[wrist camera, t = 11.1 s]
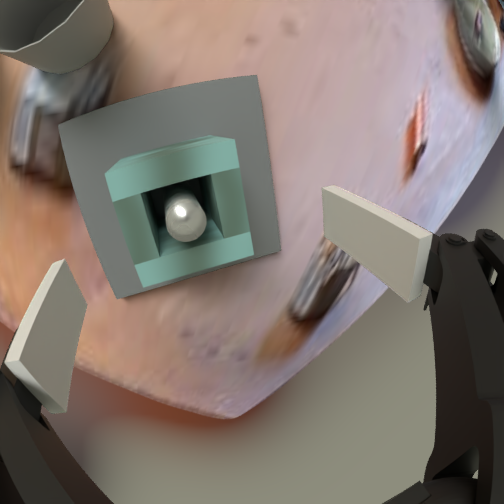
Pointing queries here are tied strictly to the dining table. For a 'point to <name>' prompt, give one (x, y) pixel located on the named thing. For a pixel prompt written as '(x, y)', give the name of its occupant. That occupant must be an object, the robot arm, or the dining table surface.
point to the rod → (183, 212)
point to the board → (162, 134)
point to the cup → (54, 32)
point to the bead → (155, 230)
